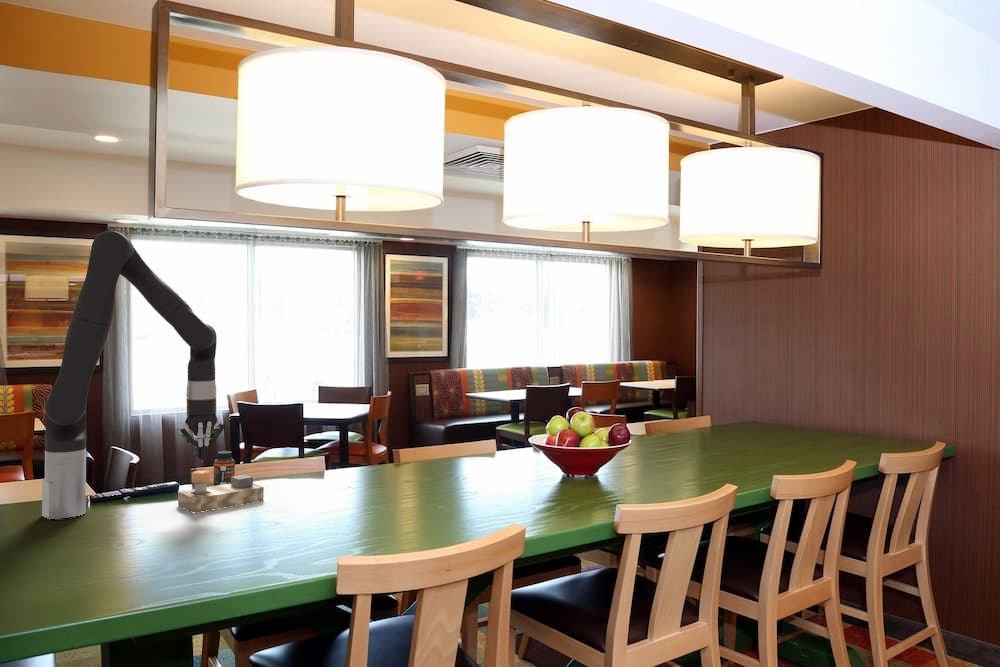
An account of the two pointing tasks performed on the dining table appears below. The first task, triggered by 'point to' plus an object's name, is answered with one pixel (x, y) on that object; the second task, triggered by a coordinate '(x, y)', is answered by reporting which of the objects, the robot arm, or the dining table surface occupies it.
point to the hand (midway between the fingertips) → (201, 459)
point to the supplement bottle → (224, 468)
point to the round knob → (200, 481)
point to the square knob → (241, 481)
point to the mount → (219, 497)
